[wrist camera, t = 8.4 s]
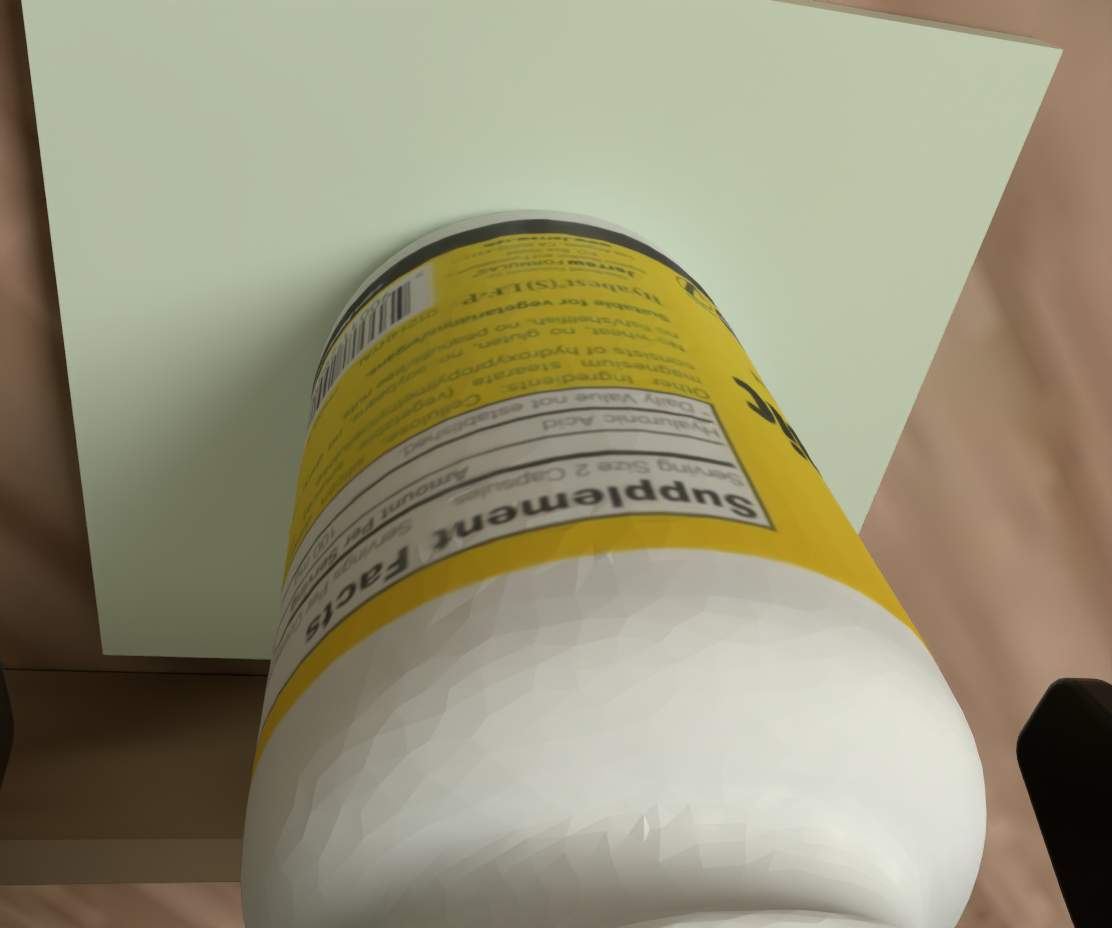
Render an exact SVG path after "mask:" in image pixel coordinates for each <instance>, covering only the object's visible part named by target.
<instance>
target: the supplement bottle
mask: <svg viewBox="0 0 1112 928" xmlns="http://www.w3.org/2000/svg"><path fill="white" fill-rule="evenodd" d="M985 834H986V799H985V785H984V777H983V770H982V765H981V761H980V758H979V754H978V751H977V748H976V744H975V741H974V737H973V734H972V732H971V730H970V728H969V725H968V723H967V721H966V719H965V716H964V714H963V712H962V710H961V708H960V706H959V704H958V703H957V701H956V699H955V697H954V695H953V693H952V692H951V690H950V688H949V686H948V684H947V682H946V681H945V679H944V677H943V675H942V673H941V671H940V670H939V668H938V666H937V664H936V662H935V660H934V658H933V657H932V655H931V653H930V651H929V649H928V647H927V646H926V644H925V643H924V641H923V639H922V638H921V636H920V635H919V633H918V631H917V630H916V628H915V627H914V625H913V623H912V622H911V620H910V619H909V617H908V615H907V614H906V612H905V611H904V609H903V608H902V606H901V604H900V603H899V601H898V600H897V598H896V596H895V595H894V593H893V592H892V590H891V588H890V587H889V585H888V583H887V582H886V580H885V579H884V577H883V575H882V574H881V572H880V570H879V569H878V567H877V566H876V564H875V562H874V561H873V559H872V558H871V556H870V554H869V553H868V551H867V549H866V548H865V546H864V545H863V543H862V541H861V540H860V538H859V536H858V535H857V533H856V532H855V530H854V528H853V527H852V525H851V523H850V522H849V520H848V519H847V517H846V515H845V514H844V512H843V510H842V509H841V507H840V506H839V504H838V503H837V501H836V499H835V498H834V496H833V495H832V493H831V491H830V490H829V488H828V487H827V485H826V484H825V482H824V480H823V478H822V476H821V475H820V473H819V471H818V469H817V468H816V466H815V465H814V463H813V462H812V460H811V458H810V456H809V455H808V453H807V451H806V449H805V448H804V446H803V445H802V443H801V442H800V440H799V438H798V437H797V435H796V433H795V432H794V430H793V429H792V427H791V426H790V425H789V423H788V422H787V420H786V418H785V417H784V415H783V413H782V412H781V410H780V408H779V407H778V405H777V403H776V402H775V400H774V399H773V397H772V395H771V394H770V392H769V391H768V389H767V387H766V386H765V384H764V383H763V381H762V379H761V377H760V376H759V374H758V372H757V371H756V369H755V367H754V366H753V364H752V362H751V360H750V359H749V357H748V355H747V354H746V352H745V350H744V349H743V347H742V345H741V344H740V342H739V340H738V339H737V337H736V335H735V334H734V332H733V330H732V329H731V327H730V326H729V324H728V322H727V321H726V320H725V318H724V317H723V315H722V314H721V313H720V311H719V310H718V308H717V307H716V305H715V304H714V302H713V300H712V299H711V298H710V297H709V295H708V294H707V293H706V291H705V290H704V289H703V288H702V286H701V285H700V284H699V283H698V281H697V280H696V279H695V278H694V277H693V276H692V274H691V273H690V272H689V271H688V270H687V269H686V268H685V267H684V266H683V265H682V264H681V263H680V262H678V261H677V260H676V259H675V258H674V257H673V256H671V255H670V254H669V253H668V252H666V251H665V250H663V249H662V248H660V247H659V246H657V245H656V244H654V243H653V242H651V241H650V240H648V239H646V238H645V237H643V236H641V235H640V234H637V233H635V232H633V231H631V230H629V229H626V228H624V227H622V226H620V225H617V224H614V223H611V222H608V221H605V220H601V219H598V218H595V217H591V216H587V215H582V214H575V213H568V212H561V211H552V210H530V209H529V210H517V211H506V212H499V213H493V214H488V215H483V216H479V217H475V218H470V219H467V220H463V221H460V222H456V223H453V224H450V225H448V226H446V227H443V228H441V229H438V230H436V231H434V232H432V233H430V234H428V235H426V236H424V237H422V238H420V239H418V240H416V241H414V242H413V243H411V244H410V245H408V246H407V247H405V248H404V249H402V250H401V251H399V252H398V253H397V254H395V255H394V256H392V257H391V258H390V259H389V260H388V261H386V262H385V263H384V264H383V265H382V266H380V267H379V268H378V269H377V270H376V271H375V272H374V273H373V274H371V275H370V276H369V277H368V278H367V279H366V280H365V281H364V283H363V284H362V285H361V286H360V287H359V288H358V290H357V291H356V292H355V294H354V295H353V296H352V297H351V299H350V300H349V301H348V303H347V304H346V306H345V307H344V309H343V311H342V312H341V314H340V315H339V317H338V318H337V320H336V322H335V324H334V326H333V327H332V330H331V332H330V334H329V337H328V339H327V341H326V343H325V346H324V348H323V351H322V354H321V358H320V361H319V364H318V368H317V371H316V375H315V379H314V382H313V389H312V396H311V403H310V408H309V413H308V419H307V424H306V430H305V437H304V444H303V451H302V458H301V465H300V472H299V476H298V481H297V490H296V498H295V504H294V511H293V517H292V524H291V528H290V531H289V544H288V549H287V555H286V562H285V570H284V576H283V582H282V587H281V598H280V602H279V608H278V614H277V624H276V630H275V637H274V641H273V648H272V656H271V663H270V669H269V675H268V680H267V686H266V691H265V698H264V704H263V711H262V717H261V723H260V729H259V735H258V740H257V746H256V752H255V758H254V764H253V770H252V777H251V783H250V789H249V795H248V802H247V808H246V818H245V829H244V839H243V852H242V865H241V878H240V879H241V897H242V910H243V919H244V923H245V927H246V928H954V927H955V926H956V924H957V923H958V921H959V919H960V917H961V915H962V913H963V911H964V908H965V906H966V904H967V902H968V900H969V898H970V895H971V892H972V889H973V886H974V883H975V880H976V877H977V874H978V871H979V867H980V863H981V859H982V854H983V848H984V841H985Z"/></svg>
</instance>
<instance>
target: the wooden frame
mask: <svg viewBox="0 0 1112 928" xmlns="http://www.w3.org/2000/svg"><path fill="white" fill-rule="evenodd" d="M4 673H5V677H6V682H7V687H8V692H9V697H10V702H11V707H12V712H13V717H14V740H13V746H12V750H11V755H10V758H9V762H8V766H7V769H6V773H5V777H4V780H3V784H2V788H1V791H0V885H45V884H115V883H186V882H241V879H240V878H241V865H242V852H243V839H244V829H245V818H246V808H247V802H248V795H249V789H250V783H251V777H252V770H253V764H254V758H255V752H256V746H257V740H258V735H259V729H260V723H261V717H262V711H263V704H264V698H265V691H266V686H267V680H268V676H232V675H191V674H151V673H110V672H70V671H29V670H4Z"/></svg>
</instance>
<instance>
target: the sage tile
mask: <svg viewBox="0 0 1112 928" xmlns="http://www.w3.org/2000/svg"><path fill="white" fill-rule="evenodd" d="M21 1H22V9H23V17H24V25H25V33H26V41H27V49H28V57H29V65H30V73H31V81H32V89H33V97H34V105H35V113H36V121H37V129H38V137H39V145H40V154H41V162H42V170H43V178H44V186H45V194H46V202H47V210H48V218H49V226H50V234H51V242H52V250H53V258H54V266H55V274H56V282H57V290H58V298H59V306H60V314H61V322H62V330H63V338H64V346H65V354H66V362H67V370H68V378H69V386H70V394H71V402H72V410H73V418H74V426H75V434H76V442H77V450H78V458H79V466H80V474H81V482H82V490H83V498H84V506H85V514H86V522H87V530H88V538H89V546H90V554H91V562H92V570H93V578H94V586H95V594H96V602H97V610H98V618H99V626H100V634H101V642H102V650H103V655H128V656H164V657H200V658H235V659H271V656H272V648H273V641H274V637H275V630H276V624H277V614H278V608H279V602H280V598H281V587H282V582H283V576H284V570H285V562H286V555H287V549H288V544H289V531H290V528H291V524H292V517H293V511H294V504H295V498H296V490H297V481H298V476H299V472H300V465H301V458H302V451H303V444H304V437H305V430H306V424H307V419H308V413H309V408H310V403H311V396H312V389H313V382H314V379H315V375H316V371H317V368H318V364H319V361H320V358H321V354H322V351H323V348H324V346H325V343H326V341H327V339H328V337H329V334H330V332H331V330H332V327H333V326H334V324H335V322H336V320H337V318H338V317H339V315H340V314H341V312H342V311H343V309H344V307H345V306H346V304H347V303H348V301H349V300H350V299H351V297H352V296H353V295H354V294H355V292H356V291H357V290H358V288H359V287H360V286H361V285H362V284H363V283H364V281H365V280H366V279H367V278H368V277H369V276H370V275H371V274H373V273H374V272H375V271H376V270H377V269H378V268H379V267H380V266H382V265H383V264H384V263H385V262H386V261H388V260H389V259H390V258H391V257H392V256H394V255H395V254H397V253H398V252H399V251H401V250H402V249H404V248H405V247H407V246H408V245H410V244H411V243H413V242H414V241H416V240H418V239H420V238H422V237H424V236H426V235H428V234H430V233H432V232H434V231H436V230H438V229H441V228H443V227H446V226H448V225H450V224H453V223H456V222H460V221H463V220H467V219H470V218H475V217H479V216H483V215H488V214H493V213H499V212H506V211H517V210H529V209H530V210H552V211H561V212H568V213H575V214H582V215H587V216H591V217H595V218H598V219H601V220H605V221H608V222H611V223H614V224H617V225H620V226H622V227H624V228H626V229H629V230H631V231H633V232H635V233H637V234H640V235H641V236H643V237H645V238H646V239H648V240H650V241H651V242H653V243H654V244H656V245H657V246H659V247H660V248H662V249H663V250H665V251H666V252H668V253H669V254H670V255H671V256H673V257H674V258H675V259H676V260H677V261H678V262H680V263H681V264H682V265H683V266H684V267H685V268H686V269H687V270H688V271H689V272H690V273H691V274H692V276H693V277H694V278H695V279H696V280H697V281H698V283H699V284H700V285H701V286H702V288H703V289H704V290H705V291H706V293H707V294H708V295H709V297H710V298H711V299H712V300H713V302H714V304H715V305H716V307H717V308H718V310H719V311H720V313H721V314H722V315H723V317H724V318H725V320H726V321H727V322H728V324H729V326H730V327H731V329H732V330H733V332H734V334H735V335H736V337H737V339H738V340H739V342H740V344H741V345H742V347H743V349H744V350H745V352H746V354H747V355H748V357H749V359H750V360H751V362H752V364H753V366H754V367H755V369H756V371H757V372H758V374H759V376H760V377H761V379H762V381H763V383H764V384H765V386H766V387H767V389H768V391H769V392H770V394H771V395H772V397H773V399H774V400H775V402H776V403H777V405H778V407H779V408H780V410H781V412H782V413H783V415H784V417H785V418H786V420H787V422H788V423H789V425H790V426H791V427H792V429H793V430H794V432H795V433H796V435H797V437H798V438H799V440H800V442H801V443H802V445H803V446H804V448H805V449H806V451H807V453H808V455H809V456H810V458H811V460H812V462H813V463H814V465H815V466H816V468H817V469H818V471H819V473H820V475H821V476H822V478H823V480H824V482H825V484H826V485H827V487H828V488H829V490H830V491H831V493H832V495H833V496H834V498H835V499H836V501H837V503H838V504H839V506H840V507H841V509H842V510H843V512H844V514H845V515H846V517H847V519H848V520H849V522H850V523H851V525H852V527H853V528H854V530H855V532H856V533H857V535H858V534H859V532H860V530H861V527H862V525H863V522H864V520H865V518H866V515H867V513H868V511H869V508H870V506H871V504H872V501H873V499H874V496H875V494H876V492H877V489H878V487H879V485H880V482H881V480H882V478H883V475H884V473H885V470H886V468H887V466H888V463H889V461H890V459H891V456H892V454H893V452H894V449H895V447H896V444H897V442H898V440H899V437H900V435H901V433H902V430H903V428H904V426H905V423H906V421H907V418H908V416H909V414H910V411H911V409H912V407H913V404H914V402H915V400H916V397H917V395H918V392H919V390H920V388H921V385H922V383H923V381H924V378H925V376H926V374H927V371H928V369H929V366H930V364H931V362H932V359H933V357H934V355H935V352H936V350H937V348H938V345H939V343H940V340H941V338H942V336H943V333H944V331H945V329H946V326H947V324H948V322H949V319H950V317H951V314H952V312H953V310H954V307H955V305H956V303H957V300H958V298H959V296H960V293H961V291H962V288H963V286H964V284H965V281H966V279H967V277H968V274H969V272H970V270H971V267H972V265H973V262H974V260H975V258H976V255H977V253H978V251H979V248H980V246H981V244H982V241H983V239H984V236H985V234H986V232H987V229H988V227H989V225H990V222H991V220H992V218H993V215H994V213H995V210H996V208H997V206H998V203H999V201H1000V199H1001V196H1002V194H1003V192H1004V189H1005V187H1006V184H1007V182H1008V180H1009V177H1010V175H1011V173H1012V170H1013V168H1014V166H1015V163H1016V161H1017V158H1018V156H1019V154H1020V151H1021V149H1022V147H1023V144H1024V142H1025V140H1026V137H1027V135H1028V132H1029V130H1030V128H1031V125H1032V123H1033V121H1034V118H1035V116H1036V114H1037V111H1038V109H1039V106H1040V104H1041V102H1042V99H1043V97H1044V95H1045V92H1046V90H1047V88H1048V85H1049V83H1050V80H1051V78H1052V76H1053V73H1054V71H1055V69H1056V66H1057V64H1058V62H1059V59H1060V57H1061V54H1062V52H1063V49H1060V48H1058V47H1055V46H1053V45H1050V44H1048V43H1045V42H1043V41H1040V40H1038V39H1035V38H1029V37H1023V36H1017V35H1011V34H1005V33H999V32H993V31H988V30H982V29H976V28H970V27H964V26H958V25H952V24H946V23H941V22H935V21H929V20H923V19H917V18H911V17H905V16H900V15H894V14H888V13H882V12H876V11H870V10H864V9H858V8H853V7H847V6H841V5H835V4H829V3H823V2H817V1H811V0H21Z"/></svg>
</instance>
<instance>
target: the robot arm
mask: <svg viewBox="0 0 1112 928" xmlns="http://www.w3.org/2000/svg"><path fill="white" fill-rule="evenodd" d="M13 740H14V717H13V712H12V707H11V702H10V697H9V692H8V687H7V682H6V677H5V673H4V668H3V663H2V659H1V657H0V791H1V788H2V784H3V780H4V777H5V773H6V769H7V766H8V762H9V758H10V755H11V750H12V746H13ZM1016 753H1017V760H1018V764H1019V767H1020V770H1021V773H1022V776H1023V779H1024V782H1025V785H1026V788H1027V791H1028V794H1029V797H1030V800H1031V803H1032V806H1033V809H1034V812H1035V815H1036V818H1037V821H1038V824H1039V827H1040V830H1041V833H1042V836H1043V839H1044V842H1045V845H1046V848H1047V851H1048V854H1049V856H1050V859H1051V862H1052V865H1053V868H1054V871H1055V874H1056V877H1057V880H1058V883H1059V886H1060V889H1061V892H1062V895H1063V898H1064V900H1065V903H1066V906H1067V909H1068V912H1069V914H1070V917H1071V920H1072V922H1073V925H1074V927H1075V928H1112V685H1111V684H1109V683H1107V682H1105V681H1103V680H1099V679H1089V678H1061V679H1058V680H1057V681H1055V682H1053V683H1052V684H1051V685H1050V686H1049V688H1048V689H1047V691H1046V692H1045V694H1044V695H1043V697H1042V698H1041V700H1040V702H1039V703H1038V705H1037V706H1036V708H1035V710H1034V711H1033V713H1032V714H1031V716H1030V718H1029V719H1028V721H1027V722H1026V724H1025V726H1024V727H1023V729H1022V730H1021V732H1020V734H1019V736H1018V740H1017V746H1016Z"/></svg>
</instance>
